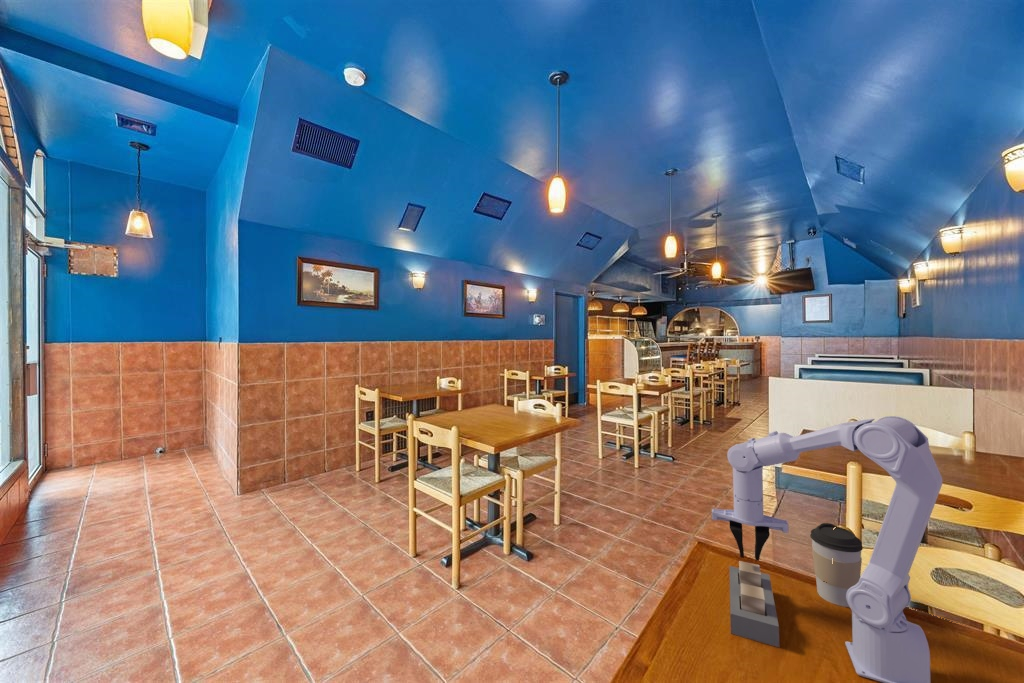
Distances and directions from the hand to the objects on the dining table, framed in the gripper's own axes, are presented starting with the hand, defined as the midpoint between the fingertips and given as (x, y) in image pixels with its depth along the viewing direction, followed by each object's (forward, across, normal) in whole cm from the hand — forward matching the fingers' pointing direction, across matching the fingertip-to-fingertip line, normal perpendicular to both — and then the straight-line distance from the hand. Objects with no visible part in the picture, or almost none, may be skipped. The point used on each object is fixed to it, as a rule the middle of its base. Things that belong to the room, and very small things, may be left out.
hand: (749, 556), depth 88 cm
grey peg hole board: (+9, 0, +4) cm, 10 cm away
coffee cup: (+10, -17, -9) cm, 21 cm away
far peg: (+6, 0, 0) cm, 6 cm away
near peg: (+6, 0, +9) cm, 11 cm away
